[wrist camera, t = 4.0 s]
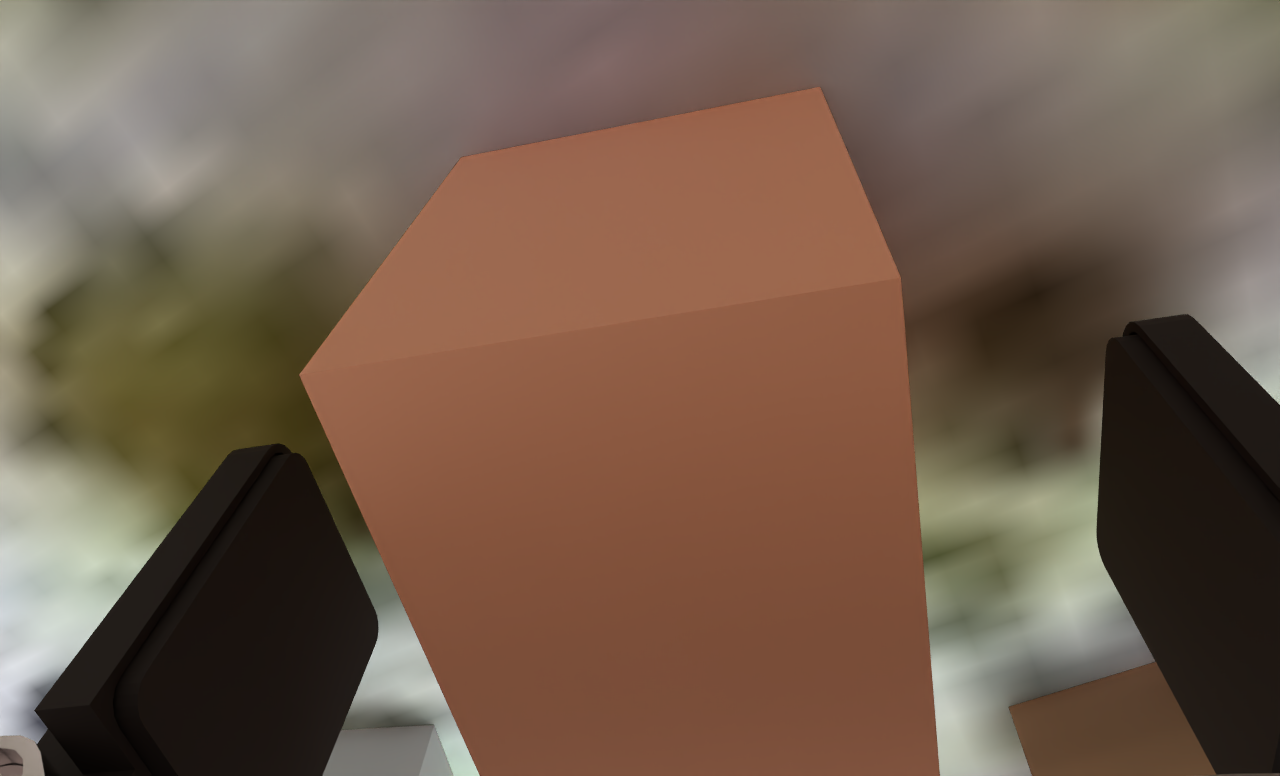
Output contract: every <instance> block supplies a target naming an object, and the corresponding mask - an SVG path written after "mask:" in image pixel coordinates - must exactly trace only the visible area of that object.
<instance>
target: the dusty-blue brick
mask: <svg viewBox="0 0 1280 776" xmlns="http://www.w3.org/2000/svg"><path fill="white" fill-rule="evenodd" d="M323 776H454V775H453V773H452V770H451V767H450V765H449V762H448V760H447V757H446V754H445V752H444V749H443V747H442V744H441V741H440V739H439V736H438V733H437V731H436V728H435V726H434V725H423V726H404V727H386V728H367V729H348V730H341V731H340V734H339V736H338V738H337V741H336V743H335V746H334V748H333V751H332V753H331V756H330V758H329V761H328V763H327V766H326V768H325V771H324V773H323Z"/></svg>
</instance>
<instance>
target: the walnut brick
mask: <svg viewBox="0 0 1280 776" xmlns="http://www.w3.org/2000/svg"><path fill="white" fill-rule="evenodd" d="M1009 710H1010V713H1011V715H1012V718H1013V721H1014V724H1015V727H1016V730H1017V733H1018V736H1019V739H1020V742H1021V745H1022V747H1023V750H1024V753H1025V756H1026V759H1027V762H1028V765H1029V768H1030V771H1031V774H1032V776H1201V775H1216V773H1215V771H1214V769H1213V767H1212V766H1211V764H1210V762H1209V760H1208V758H1207V756H1206V754H1205V753H1204V751H1203V749H1202V747H1201V745H1200V743H1199V741H1198V739H1197V738H1196V736H1195V734H1194V732H1193V730H1192V728H1191V726H1190V725H1189V723H1188V721H1187V719H1186V717H1185V715H1184V713H1183V712H1182V710H1181V708H1180V706H1179V704H1178V702H1177V700H1176V698H1175V697H1174V695H1173V693H1172V691H1171V689H1170V687H1169V685H1168V684H1167V682H1166V680H1165V678H1164V676H1163V674H1162V672H1161V671H1160V669H1159V667H1158V665H1157V663H1156V662H1154V663H1150V664H1147V665H1144V666H1141V667H1137V668H1134V669H1131V670H1127V671H1124V672H1121V673H1118V674H1114V675H1111V676H1108V677H1105V678H1101V679H1098V680H1095V681H1091V682H1088V683H1085V684H1082V685H1078V686H1075V687H1072V688H1069V689H1065V690H1062V691H1059V692H1056V693H1052V694H1049V695H1046V696H1042V697H1039V698H1036V699H1033V700H1029V701H1026V702H1023V703H1020V704H1016V705H1013V706H1010V707H1009Z"/></svg>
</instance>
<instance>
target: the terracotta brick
mask: <svg viewBox="0 0 1280 776" xmlns="http://www.w3.org/2000/svg"><path fill="white" fill-rule="evenodd" d="M299 376H300V378H301V380H302V382H303V385H304V387H305V389H306V391H307V394H308V396H309V398H310V400H311V402H312V405H313V407H314V409H315V411H316V413H317V416H318V418H319V420H320V422H321V425H322V427H323V429H324V431H325V433H326V436H327V438H328V440H329V442H330V444H331V447H332V449H333V451H334V453H335V456H336V458H337V460H338V462H339V464H340V467H341V469H342V471H343V473H344V476H345V478H346V480H347V482H348V484H349V487H350V489H351V491H352V493H353V495H354V498H355V500H356V502H357V504H358V507H359V509H360V511H361V513H362V515H363V518H364V520H365V522H366V524H367V526H368V529H369V531H370V533H371V535H372V538H373V540H374V542H375V544H376V546H377V549H378V551H379V553H380V555H381V558H382V560H383V562H384V564H385V566H386V569H387V571H388V573H389V575H390V577H391V580H392V582H393V584H394V586H395V589H396V591H397V593H398V595H399V597H400V600H401V602H402V604H403V606H404V608H405V611H406V613H407V615H408V617H409V620H410V622H411V624H412V626H413V628H414V631H415V633H416V635H417V637H418V640H419V642H420V644H421V646H422V648H423V651H424V653H425V655H426V657H427V659H428V662H429V664H430V666H431V668H432V671H433V673H434V675H435V677H436V679H437V682H438V684H439V686H440V688H441V690H442V693H443V695H444V697H445V699H446V702H447V704H448V706H449V708H450V710H451V713H452V715H453V717H454V719H455V722H456V724H457V726H458V728H459V730H460V733H461V735H462V737H463V739H464V741H465V744H466V746H467V748H468V750H469V753H470V755H471V757H472V759H473V761H474V764H475V766H476V768H477V770H478V772H479V775H480V776H940V772H939V759H938V747H937V734H936V721H935V708H934V695H933V683H932V670H931V657H930V644H929V631H928V618H927V606H926V593H925V580H924V567H923V554H922V541H921V529H920V516H919V503H918V490H917V477H916V465H915V452H914V439H913V426H912V413H911V400H910V388H909V375H908V362H907V349H906V336H905V323H904V311H903V298H902V285H901V277H900V274H899V272H898V270H897V267H896V265H895V263H894V260H893V258H892V255H891V253H890V251H889V248H888V246H887V244H886V241H885V239H884V237H883V234H882V232H881V229H880V227H879V225H878V222H877V220H876V218H875V215H874V213H873V210H872V208H871V206H870V203H869V201H868V199H867V196H866V194H865V192H864V189H863V187H862V184H861V182H860V180H859V177H858V175H857V173H856V170H855V168H854V166H853V163H852V161H851V158H850V156H849V154H848V151H847V149H846V147H845V144H844V142H843V140H842V137H841V135H840V132H839V130H838V128H837V125H836V123H835V121H834V118H833V116H832V114H831V111H830V109H829V106H828V104H827V102H826V99H825V97H824V95H823V92H822V90H821V88H820V87H816V88H811V89H806V90H801V91H796V92H791V93H786V94H781V95H776V96H771V97H765V98H760V99H755V100H750V101H745V102H740V103H735V104H730V105H725V106H720V107H714V108H709V109H704V110H699V111H694V112H689V113H684V114H679V115H674V116H669V117H664V118H658V119H653V120H648V121H643V122H638V123H633V124H628V125H623V126H618V127H613V128H607V129H602V130H597V131H592V132H587V133H582V134H577V135H572V136H567V137H562V138H556V139H551V140H546V141H541V142H536V143H531V144H526V145H521V146H516V147H511V148H506V149H500V150H495V151H490V152H485V153H480V154H475V155H470V156H465V157H461V158H460V159H459V161H458V162H457V163H456V165H455V166H454V167H453V169H452V170H451V172H450V173H449V174H448V176H447V177H446V178H445V180H444V181H443V182H442V184H441V185H440V186H439V188H438V189H437V190H436V192H435V193H434V194H433V196H432V197H431V198H430V200H429V201H428V202H427V204H426V205H425V206H424V208H423V209H422V210H421V212H420V213H419V214H418V216H417V217H416V219H415V220H414V221H413V223H412V224H411V225H410V227H409V228H408V229H407V231H406V232H405V233H404V235H403V236H402V237H401V239H400V240H399V241H398V243H397V244H396V245H395V247H394V248H393V249H392V251H391V252H390V253H389V255H388V256H387V257H386V259H385V260H384V262H383V263H382V264H381V266H380V267H379V268H378V270H377V271H376V272H375V274H374V275H373V276H372V278H371V279H370V280H369V282H368V283H367V284H366V286H365V287H364V288H363V290H362V291H361V292H360V294H359V295H358V296H357V298H356V299H355V300H354V302H353V303H352V304H351V306H350V307H349V309H348V310H347V311H346V313H345V314H344V315H343V317H342V318H341V319H340V321H339V322H338V323H337V325H336V326H335V327H334V329H333V330H332V331H331V333H330V334H329V335H328V337H327V338H326V339H325V341H324V342H323V343H322V345H321V346H320V347H319V349H318V350H317V352H316V353H315V354H314V356H313V357H312V358H311V360H310V361H309V362H308V364H307V365H306V366H305V368H304V369H303V370H302V372H301V373H300V374H299Z"/></svg>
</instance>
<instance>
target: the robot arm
mask: <svg viewBox="0 0 1280 776" xmlns="http://www.w3.org/2000/svg"><path fill="white" fill-rule="evenodd" d="M1097 543H1098V548H1099V553H1100V556H1101V559H1102V562H1103V564H1104V566H1105V568H1106V570H1107V572H1108V574H1109V575H1110V577H1111V579H1112V581H1113V583H1114V585H1115V587H1116V588H1117V590H1118V592H1119V594H1120V596H1121V598H1122V600H1123V602H1124V603H1125V605H1126V607H1127V609H1128V611H1129V613H1130V615H1131V616H1132V618H1133V620H1134V622H1135V624H1136V626H1137V628H1138V630H1139V631H1140V633H1141V635H1142V637H1143V639H1144V641H1145V643H1146V644H1147V646H1148V648H1149V650H1150V652H1151V654H1152V656H1153V657H1154V659H1155V661H1156V663H1157V665H1158V667H1159V669H1160V671H1161V672H1162V674H1163V676H1164V678H1165V680H1166V682H1167V684H1168V685H1169V687H1170V689H1171V691H1172V693H1173V695H1174V697H1175V698H1176V700H1177V702H1178V704H1179V706H1180V708H1181V710H1182V712H1183V713H1184V715H1185V717H1186V719H1187V721H1188V723H1189V725H1190V726H1191V728H1192V730H1193V732H1194V734H1195V736H1196V738H1197V739H1198V741H1199V743H1200V745H1201V747H1202V749H1203V751H1204V753H1205V754H1206V756H1207V758H1208V760H1209V762H1210V764H1211V766H1212V767H1213V769H1214V771H1215V773H1216V775H1201V776H1280V405H1279V404H1278V403H1277V402H1276V401H1275V400H1274V399H1273V398H1272V397H1271V396H1270V395H1269V394H1268V393H1267V392H1266V391H1265V390H1264V389H1263V388H1262V387H1261V386H1260V385H1259V383H1258V382H1257V381H1256V380H1255V379H1254V378H1253V377H1252V376H1251V375H1250V374H1249V373H1248V372H1247V371H1246V370H1245V369H1244V368H1243V367H1242V366H1241V365H1240V364H1239V363H1238V362H1237V361H1236V360H1235V359H1234V358H1233V357H1232V356H1231V355H1230V354H1229V353H1228V352H1227V351H1226V350H1225V349H1224V348H1223V347H1222V346H1221V345H1220V344H1219V343H1218V342H1217V341H1216V340H1215V339H1214V338H1213V337H1212V336H1211V335H1210V334H1209V333H1208V332H1207V331H1206V330H1205V329H1204V328H1203V327H1202V326H1201V325H1200V324H1199V323H1198V322H1197V321H1196V320H1195V319H1194V318H1193V317H1191V316H1190V315H1189V314H1183V315H1176V316H1169V317H1162V318H1155V319H1148V320H1141V321H1134V322H1129V323H1128V324H1127V325H1126V327H1125V330H1124V332H1123V337H1116V338H1111V339H1110V340H1109V341H1108V344H1107V348H1106V360H1105V379H1104V398H1103V417H1102V436H1101V455H1100V474H1099V493H1098V512H1097ZM377 638H378V619H377V614H376V612H375V609H374V607H373V605H372V602H371V600H370V598H369V596H368V594H367V592H366V589H365V587H364V585H363V583H362V581H361V579H360V576H359V574H358V572H357V570H356V568H355V566H354V563H353V561H352V559H351V557H350V555H349V553H348V550H347V548H346V546H345V544H344V542H343V540H342V537H341V535H340V533H339V531H338V529H337V527H336V525H335V522H334V520H333V518H332V516H331V514H330V512H329V509H328V507H327V505H326V503H325V501H324V499H323V496H322V494H321V492H320V490H319V488H318V486H317V483H316V481H315V479H314V477H313V475H312V473H311V470H310V468H309V466H308V464H307V462H306V461H305V459H304V458H303V457H302V456H301V455H300V454H298V453H292V452H291V451H290V450H289V449H288V448H287V447H286V446H285V445H282V444H272V445H265V446H258V447H251V448H244V449H238V450H234V451H232V452H231V453H230V454H229V455H228V456H227V457H226V458H225V460H224V461H223V462H222V464H221V465H220V466H219V468H218V469H217V470H216V472H215V473H214V474H213V476H212V477H211V478H210V480H209V481H208V482H207V484H206V485H205V486H204V487H203V489H202V490H201V491H200V493H199V494H198V495H197V497H196V498H195V499H194V501H193V502H192V503H191V505H190V506H189V507H188V509H187V510H186V511H185V513H184V514H183V515H182V516H181V518H180V519H179V520H178V522H177V523H176V524H175V526H174V527H173V528H172V530H171V531H170V532H169V534H168V535H167V536H166V538H165V539H164V540H163V542H162V543H161V544H160V545H159V547H158V548H157V549H156V551H155V552H154V553H153V555H152V556H151V557H150V559H149V560H148V561H147V563H146V564H145V565H144V567H143V568H142V569H141V571H140V572H139V573H138V574H137V576H136V577H135V578H134V580H133V581H132V582H131V584H130V585H129V586H128V588H127V589H126V590H125V592H124V593H123V594H122V596H121V597H120V598H119V600H118V601H117V602H116V603H115V605H114V606H113V607H112V609H111V610H110V611H109V613H108V614H107V615H106V617H105V618H104V619H103V621H102V622H101V623H100V625H99V626H98V627H97V629H96V630H95V631H94V632H93V634H92V635H91V636H90V638H89V639H88V640H87V642H86V643H85V644H84V646H83V647H82V648H81V650H80V651H79V652H78V654H77V655H76V656H75V658H74V659H73V660H72V661H71V663H70V664H69V665H68V667H67V668H66V669H65V671H64V672H63V673H62V675H61V676H60V677H59V679H58V680H57V681H56V683H55V684H54V685H53V687H52V688H51V689H50V690H49V692H48V693H47V694H46V696H45V697H44V698H43V700H42V701H41V702H40V704H39V705H38V706H37V708H36V709H35V710H34V711H35V712H36V713H37V715H38V716H39V717H40V719H41V720H42V721H43V723H44V724H45V725H46V726H47V728H48V730H47V731H46V733H45V734H44V736H43V737H42V738H41V740H40V741H39V742H38V744H36V743H35V741H33V740H31V739H28V738H26V737H24V736H21V735H19V736H0V776H323V773H324V771H325V768H326V766H327V763H328V761H329V758H330V756H331V753H332V751H333V748H334V746H335V743H336V741H337V738H338V736H339V734H340V731H341V729H342V726H343V724H344V721H345V719H346V716H347V714H348V711H349V709H350V706H351V704H352V701H353V699H354V696H355V694H356V691H357V689H358V686H359V684H360V682H361V679H362V677H363V674H364V672H365V669H366V667H367V664H368V662H369V659H370V657H371V654H372V652H373V649H374V647H375V644H376V641H377Z"/></svg>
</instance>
